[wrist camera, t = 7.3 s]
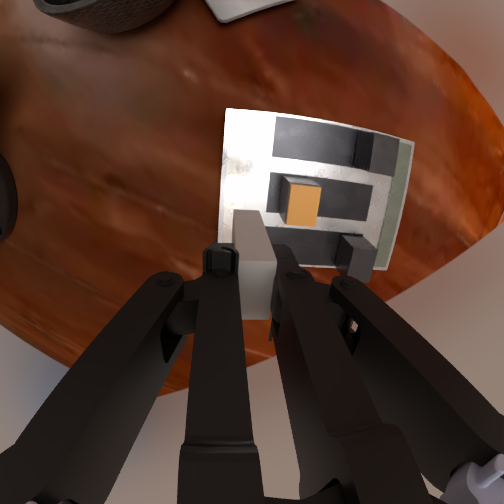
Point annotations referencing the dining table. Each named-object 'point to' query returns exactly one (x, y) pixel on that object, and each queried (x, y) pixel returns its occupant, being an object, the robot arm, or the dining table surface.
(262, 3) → the light switch
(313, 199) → the block
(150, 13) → the planter
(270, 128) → the panel
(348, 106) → the dining table surface
